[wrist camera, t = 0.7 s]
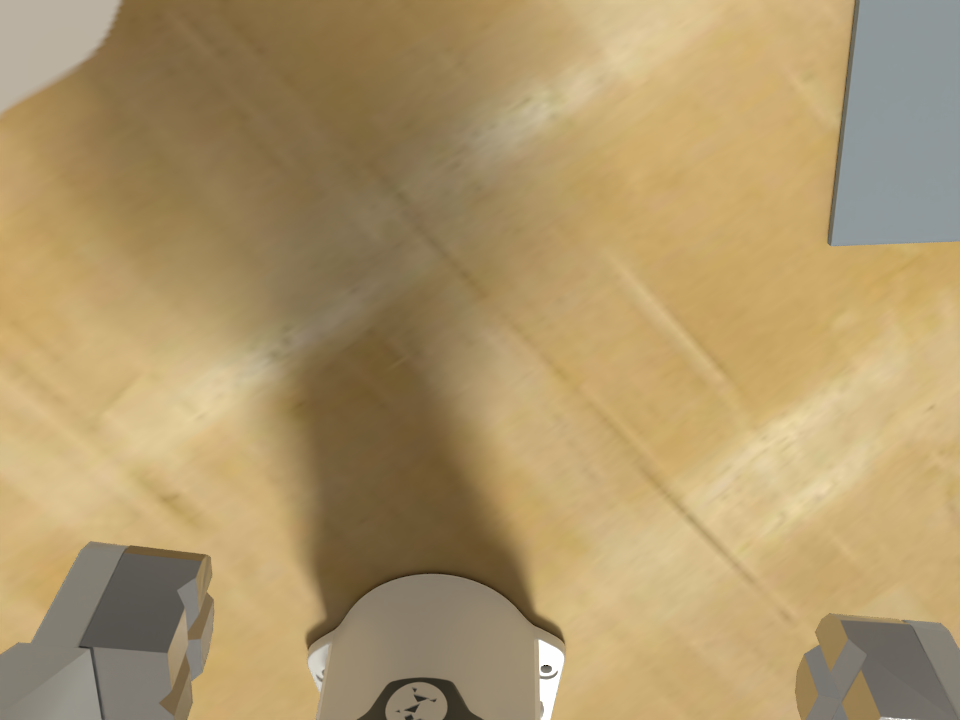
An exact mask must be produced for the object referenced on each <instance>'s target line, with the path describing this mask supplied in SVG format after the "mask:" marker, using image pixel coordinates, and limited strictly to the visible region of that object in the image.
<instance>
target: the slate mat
mask: <svg viewBox="0 0 960 720" xmlns="http://www.w3.org/2000/svg"><path fill="white" fill-rule="evenodd" d="M954 241H960V0H856V4H855V12H854V21H853V29H852V38H851V47H850V55H849V64H848V72H847V81H846V90H845V98H844V107H843V115H842V124H841V133H840V141H839V150H838V159H837V167H836V176H835V184H834V193H833V202H832V210H831V219H830V227H829V236H828V244H829V245H830V246H850V245H876V244H902V243H928V242H954Z"/></svg>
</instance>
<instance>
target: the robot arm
mask: <svg viewBox="0 0 960 720" xmlns="http://www.w3.org/2000/svg"><path fill="white" fill-rule="evenodd" d="M211 578H212V566H211V557H210V556H208V555H206V554H197V553H189V552H181V551H173V550H164V549H156V548H148V547H139V546H131V545H130V546H126V545H117V544H109V543H101V542H92V541H90V542H89V543H88V544H87V545H86V546H85V547H84V548H83V549H82V550H81V551H80V552H79V554H78V556H77V558H76V560H75V562H74V563H73V565H72V567H71V569H70V571H69V573H68V575H67V576H66V578H65V580H64V582H63V584H62V586H61V588H60V590H59V591H58V593H57V595H56V597H55V599H54V601H53V603H52V604H51V606H50V608H49V610H48V612H47V614H46V616H45V617H44V619H43V621H42V623H41V625H40V627H39V629H38V630H37V632H36V634H35V636H34V638H33V640H32V642H31V643H19V642H18V643H17V644H15V645H14V646H12V647H11V648H9V649H8V650H6V651H5V652H3V653H2V654H0V720H187V718H188V715H189V712H190V709H191V706H192V703H193V701H192V686H191V681H192V680H194V679H195V678H196V677H197V676H199V675H200V674H201V673H202V672H203V669H204V666H205V662H206V659H207V656H208V653H209V648H210V642H211V637H212V632H213V622H214V599H213V598H212V597H211V596H210V595H209V594H208V593H207V589H208V587H209V584H210V581H211ZM815 633H816V636H817V639H818V641H819V644H820V645H818V646H817V647H815V648H813V649H812V650H810V651H809V652H807V653H805V654H804V656H803V658H802V660H801V663H800V665H799V667H798V670H797V676H796V688H795V694H796V701H797V708H798V711H799V714H800V717H801V720H960V650H959V648H958V646H957V644H956V642H955V641H954V639H953V637H952V635H951V633H950V632H949V630H948V629H947V628H945V627H944V626H943V625H942V624H941V623H933V622H922V621H911V620H898V619H890V618H879V617H867V616H855V615H843V614H831V613H829V614H828V615H827V616H825V617H824V618H823V619H821V621H820V623H819V625H818V627H817V629H816V631H815ZM565 652H566V648H565V645H564V643H563V642H562V641H561V640H560V639H559V638H557V637H556V636H554V635H552V634H550V633H549V632H546V631H544V630H542V629H540V628H538V627H536V626H534V625H532V624H531V623H530V622H529V621H528V620H527V619H526V618H525V617H524V616H523V615H522V614H521V613H520V612H519V610H518V609H517V608H516V607H515V606H514V605H513V604H512V603H511V602H510V601H509V600H507V599H506V598H505V597H503V596H502V595H501V594H499V593H498V592H496V591H495V590H493V589H491V588H489V587H487V586H485V585H483V584H481V583H478V582H475V581H473V580H469V579H466V578H462V577H458V576H452V575H445V574H420V575H412V576H406V577H402V578H398V579H395V580H392V581H389V582H387V583H385V584H382V585H380V586H378V587H376V588H375V589H373V590H371V591H370V592H368V593H367V594H366V595H364V596H363V597H362V598H361V599H360V600H359V601H357V603H356V604H355V605H354V606H353V607H352V608H351V609H350V611H349V612H348V614H347V615H346V617H345V618H344V620H343V621H342V623H341V624H340V625H339V626H338V627H337V628H336V629H335V630H333V631H332V632H330V633H328V634H326V635H325V636H323V637H321V638H320V639H318V640H317V641H315V642H314V643H313V644H312V645H311V646H310V648H309V650H308V657H307V664H308V667H309V669H310V672H311V674H312V676H313V679H314V681H315V684H316V686H317V688H318V691H319V693H320V697H319V703H318V708H317V714H316V720H551V716H552V712H553V708H554V703H555V699H556V695H557V691H558V687H559V683H560V679H561V675H562V670H563V666H564V662H565ZM545 664H548V665H549V666H543V665H545Z"/></svg>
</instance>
